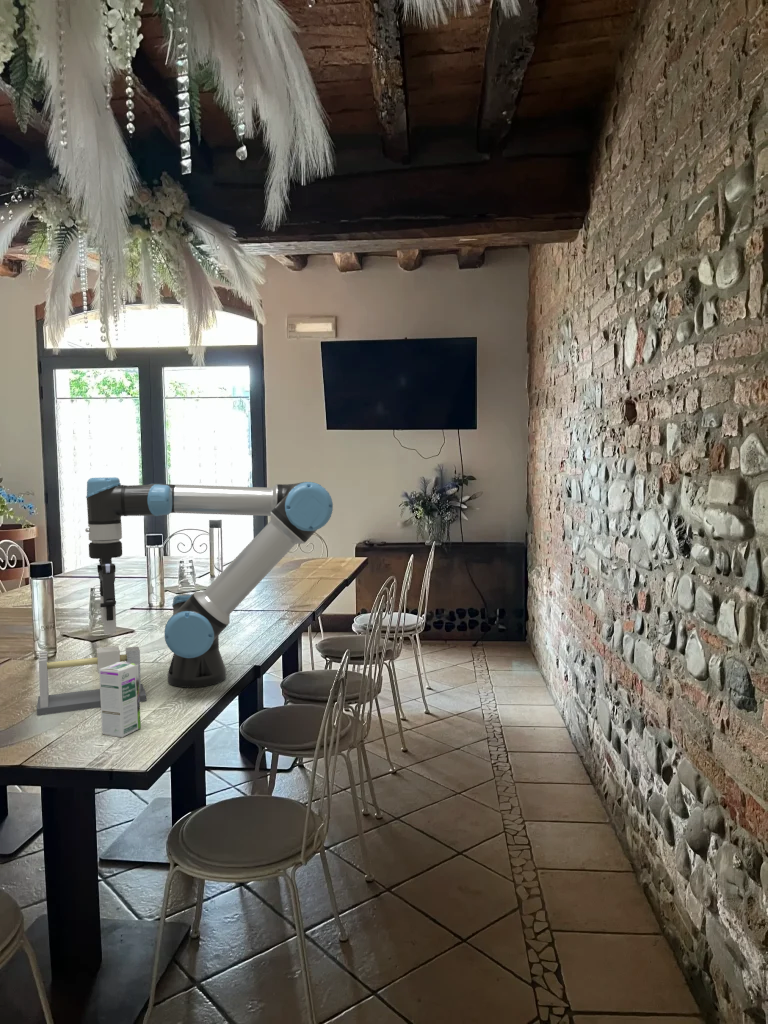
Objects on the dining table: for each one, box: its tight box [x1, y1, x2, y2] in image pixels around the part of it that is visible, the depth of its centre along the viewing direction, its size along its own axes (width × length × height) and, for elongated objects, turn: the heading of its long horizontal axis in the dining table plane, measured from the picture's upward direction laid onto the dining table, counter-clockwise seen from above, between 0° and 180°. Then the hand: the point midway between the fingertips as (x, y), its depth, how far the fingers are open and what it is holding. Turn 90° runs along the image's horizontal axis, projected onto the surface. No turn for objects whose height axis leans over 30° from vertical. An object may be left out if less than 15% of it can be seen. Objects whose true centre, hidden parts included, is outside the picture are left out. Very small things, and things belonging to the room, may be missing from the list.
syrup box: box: [98, 661, 142, 738], centre depth 152 cm, size 6×6×14 cm
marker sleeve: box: [96, 645, 121, 674], centre depth 173 cm, size 5×5×5 cm
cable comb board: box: [36, 646, 147, 716], centre depth 172 cm, size 24×10×12 cm, turn 114°
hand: (108, 627), depth 173 cm, fingers open, 13 cm apart
